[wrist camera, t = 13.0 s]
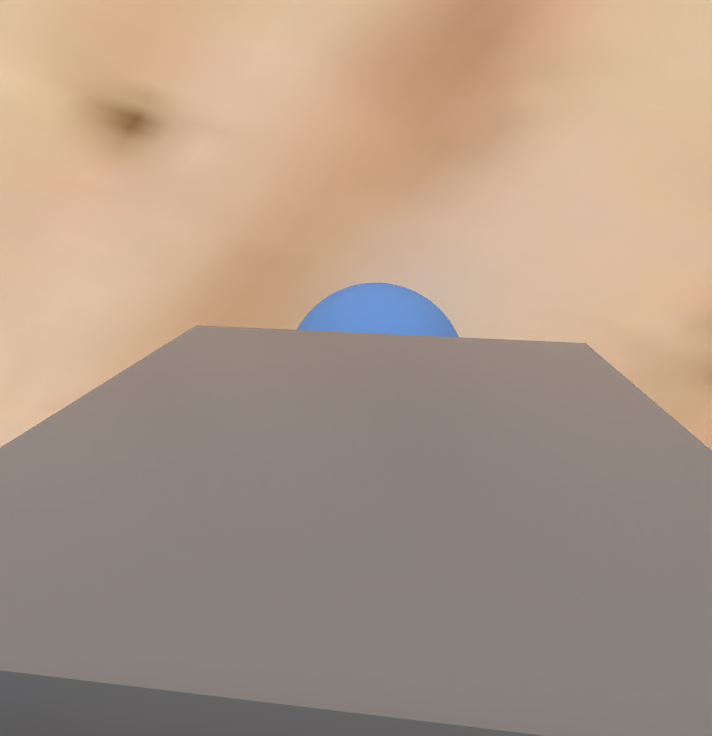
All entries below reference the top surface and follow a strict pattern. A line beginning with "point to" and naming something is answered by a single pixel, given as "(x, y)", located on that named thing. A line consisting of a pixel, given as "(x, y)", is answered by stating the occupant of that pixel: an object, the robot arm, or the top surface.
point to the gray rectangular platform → (357, 546)
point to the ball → (378, 312)
